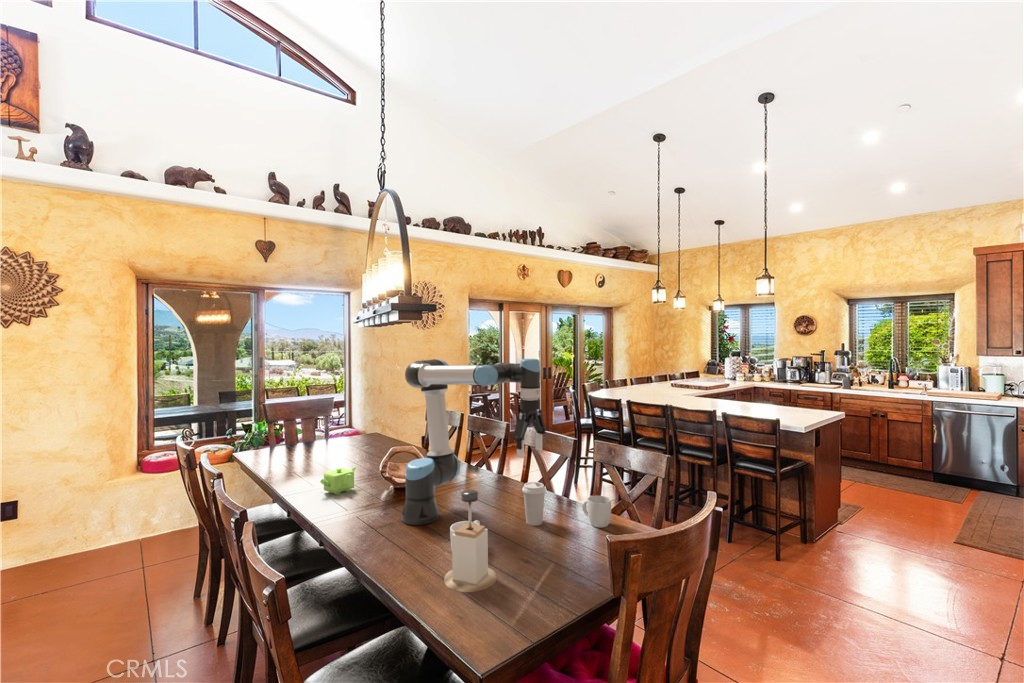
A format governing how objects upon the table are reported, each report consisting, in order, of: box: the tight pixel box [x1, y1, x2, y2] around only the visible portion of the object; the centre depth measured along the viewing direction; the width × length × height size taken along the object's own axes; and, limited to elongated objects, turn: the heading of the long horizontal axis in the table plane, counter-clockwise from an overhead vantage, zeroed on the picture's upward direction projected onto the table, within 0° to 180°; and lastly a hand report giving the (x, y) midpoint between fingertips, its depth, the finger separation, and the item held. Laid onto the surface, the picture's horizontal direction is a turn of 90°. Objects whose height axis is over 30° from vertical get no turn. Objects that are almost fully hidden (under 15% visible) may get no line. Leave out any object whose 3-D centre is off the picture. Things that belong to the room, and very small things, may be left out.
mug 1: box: [449, 520, 481, 551], centre depth 164 cm, size 13×10×8 cm
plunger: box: [461, 489, 479, 530], centre depth 142 cm, size 6×6×15 cm
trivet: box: [443, 567, 498, 593], centre depth 142 cm, size 16×16×1 cm
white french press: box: [451, 523, 489, 587], centre depth 142 cm, size 8×8×15 cm
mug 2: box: [582, 495, 612, 529], centre depth 185 cm, size 13×9×10 cm
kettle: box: [319, 466, 358, 496], centre depth 226 cm, size 15×14×11 cm
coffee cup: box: [521, 481, 547, 527], centre depth 186 cm, size 10×10×15 cm
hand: (529, 453), depth 180 cm, fingers open, 13 cm apart
